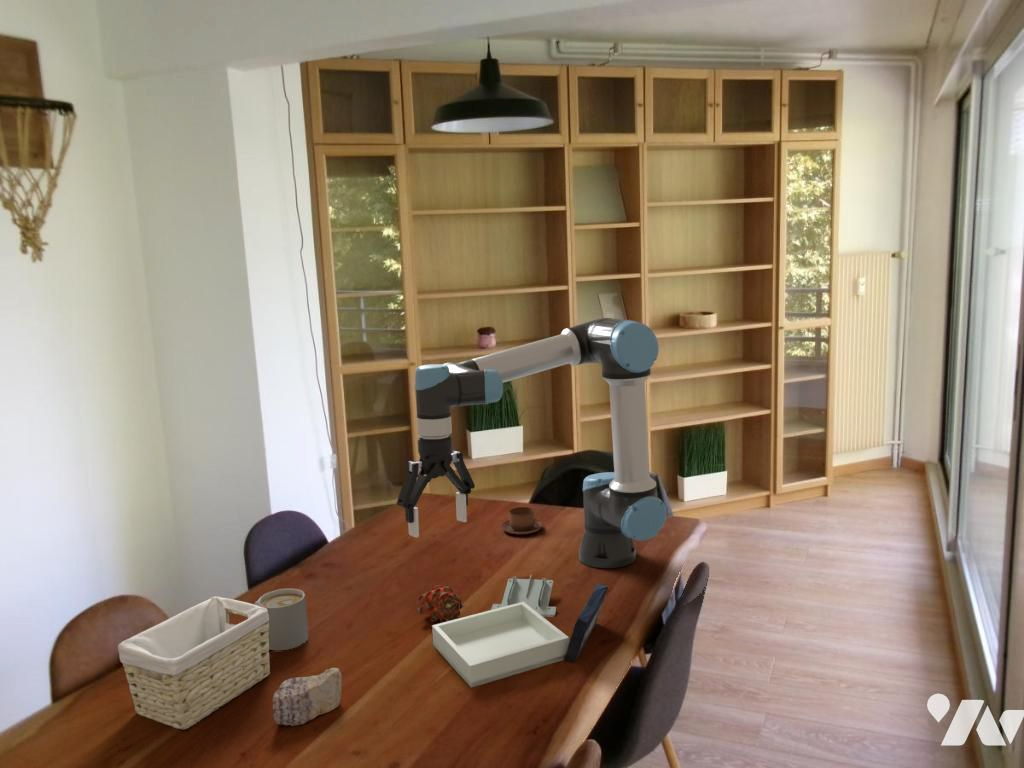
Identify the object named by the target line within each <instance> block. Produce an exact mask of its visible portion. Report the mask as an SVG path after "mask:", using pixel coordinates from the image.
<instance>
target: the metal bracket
mask: <svg viewBox="0 0 1024 768" xmlns="http://www.w3.org/2000/svg"><path fill="white" fill-rule="evenodd" d="M532 578H533V577H532V574H530V575H529V578H517V576H512V578H508V579H507V583H506V586H505V589H504V594H503V597H502V601H501V603H493V604H492V606H491V608H490V610H493V609H497V608H501V607H505V606H509V605H513V604H517V603H520V602H525V603H526V604H527V605H528V606H530V607H531V608H532V609H533V610H535V611H536V612H537V613H538V614H540V615H541V616H542V617H555V616H556V611H557V607H556V606H549V603H550V599H551V594H552V589H553V586H554V580H553V579H547V578H546V577H542V579H535V578H534V579H532Z"/></svg>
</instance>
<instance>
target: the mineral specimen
mask: <svg viewBox="0 0 1024 768" xmlns="http://www.w3.org/2000/svg"><path fill="white" fill-rule="evenodd" d="M342 681H343V680H342V672H340V668H339V667H338V668H337V667H331V668H329V669H326V670H324V671H323V672H321V673H320V674H317V675H311V676H299V677H293V678H288V679H285V680H284V681H283V682H282V683H281V684H280V685H279V688H278V690H277V691H275V692H274V694H273V697H272V703H273V704H272V710H273V719H274V720H275V721H274V722H275V723H276V724H277V725H282V726H290V727H295V726H301V725H304V724H306V723H307V722H309V721H310V722H311V721H312V720H314V719H315V718H316V717H318V716H319V715H323V714H325V713H329V712H332V711H333V710H335V709H336V708H338V707H339V705H340V701H341V699H342V696H341V695H342V690H343V687H342Z"/></svg>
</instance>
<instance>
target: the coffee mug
mask: <svg viewBox="0 0 1024 768" xmlns="http://www.w3.org/2000/svg"><path fill="white" fill-rule="evenodd" d="M254 605H257V606H260V607H264V608H266V609H267V611H268V615H269V621H268V622H269V630H268V632H269V636H268V638H269V641H268V642H269V649H271V650H284V649H290V648H294V647H297V646H299V647H301V646H302V645H301V644H303V643H304V644H306V641H308V640H309V638H308V637H310V636H309V626H308V616H307V615H308V614H307V603H306V594H305V592H304V591H303V590H301V589H298V588H280V589H275V590H272V591H269V592H266V593H263V595H261V596H260V597H259V599H258V600H256V601H255V602H254ZM304 644H303V645H304ZM300 645H301V646H300ZM297 648H298V647H297Z"/></svg>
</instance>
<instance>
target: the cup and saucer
mask: <svg viewBox="0 0 1024 768" xmlns="http://www.w3.org/2000/svg"><path fill="white" fill-rule="evenodd" d="M508 515H509V517H508V518H509V520H506V521H504V522H503V523H502V524H501V527H502V529H503V530H504V531H505V532H506V533H509V534H512V535H518V536H519V535H520V536H521V535H530V534H533V533H536V532H538V531H540V529H542V527H543V522H542V521H541V520H539V519H536V518H535V510H534V508H532V507H528V506H527V507H526V506H525V507H524V506H519V507H517V506H516V507H513V508H511V509H510V510H509V512H508Z"/></svg>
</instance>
